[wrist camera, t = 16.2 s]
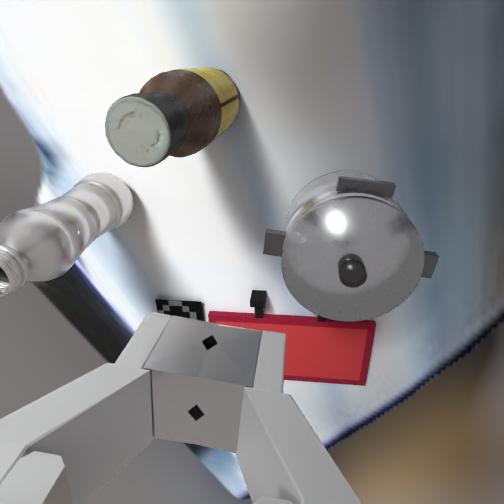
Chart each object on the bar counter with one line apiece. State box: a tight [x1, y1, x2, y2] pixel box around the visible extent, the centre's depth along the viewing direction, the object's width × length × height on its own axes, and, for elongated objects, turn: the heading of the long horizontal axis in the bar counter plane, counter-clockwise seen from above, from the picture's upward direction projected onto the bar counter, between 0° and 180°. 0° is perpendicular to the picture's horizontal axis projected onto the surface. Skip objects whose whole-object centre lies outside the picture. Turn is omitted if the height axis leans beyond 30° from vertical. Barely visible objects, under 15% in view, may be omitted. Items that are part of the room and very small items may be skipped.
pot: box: [263, 171, 439, 278], centre depth 38 cm, size 14×17×8 cm
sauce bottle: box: [105, 68, 240, 167], centre depth 29 cm, size 6×6×20 cm
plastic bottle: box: [0, 173, 134, 296], centre depth 35 cm, size 6×7×20 cm
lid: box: [281, 196, 425, 321], centre depth 33 cm, size 13×13×3 cm
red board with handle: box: [155, 290, 376, 386], centre depth 50 cm, size 30×3×15 cm
